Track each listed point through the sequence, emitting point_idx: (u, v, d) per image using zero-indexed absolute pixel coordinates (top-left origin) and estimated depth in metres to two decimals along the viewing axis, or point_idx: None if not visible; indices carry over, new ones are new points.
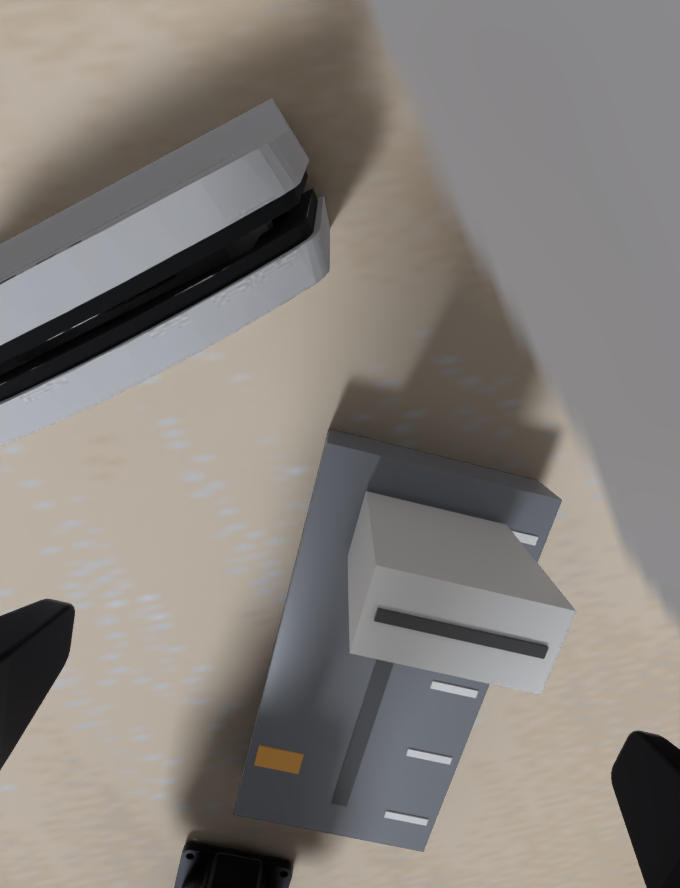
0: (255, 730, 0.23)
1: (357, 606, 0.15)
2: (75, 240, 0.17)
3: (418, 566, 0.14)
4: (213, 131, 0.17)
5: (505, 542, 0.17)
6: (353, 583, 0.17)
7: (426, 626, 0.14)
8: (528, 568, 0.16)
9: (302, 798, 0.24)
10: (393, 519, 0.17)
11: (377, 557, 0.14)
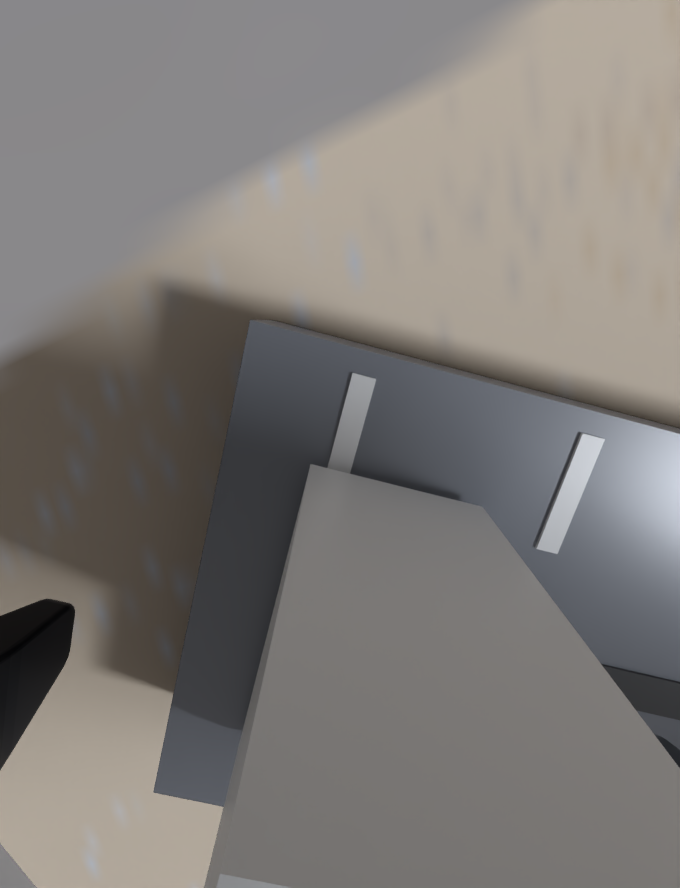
0: None
1: None
2: None
3: None
4: None
5: None
6: None
7: None
8: (267, 645, 0.04)
9: None
10: None
11: None
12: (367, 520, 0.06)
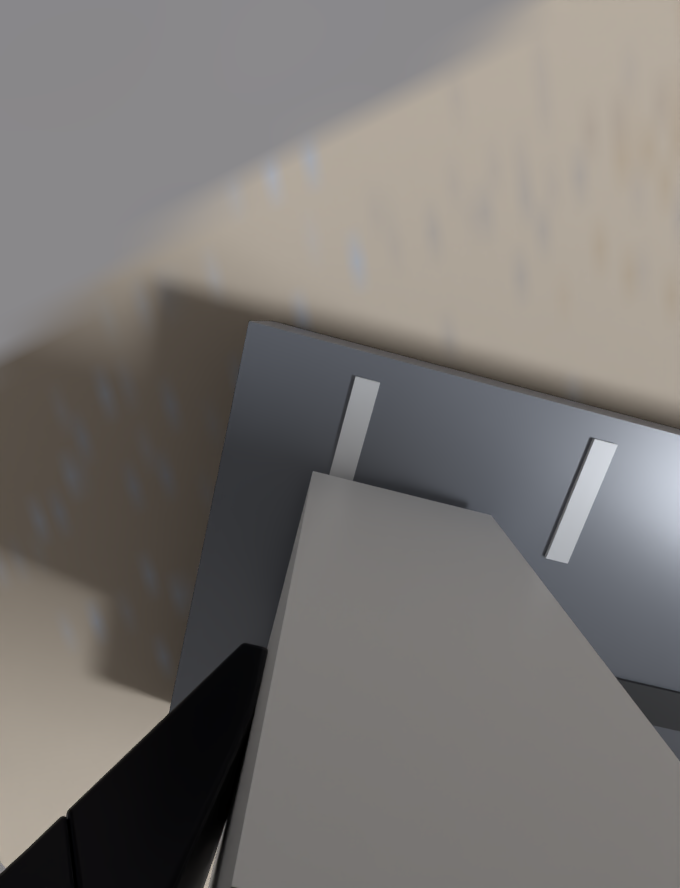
0: None
1: None
2: None
3: None
4: None
5: (287, 581, 0.06)
6: None
7: None
8: (270, 671, 0.04)
9: None
10: (214, 865, 0.07)
11: None
12: (373, 532, 0.06)
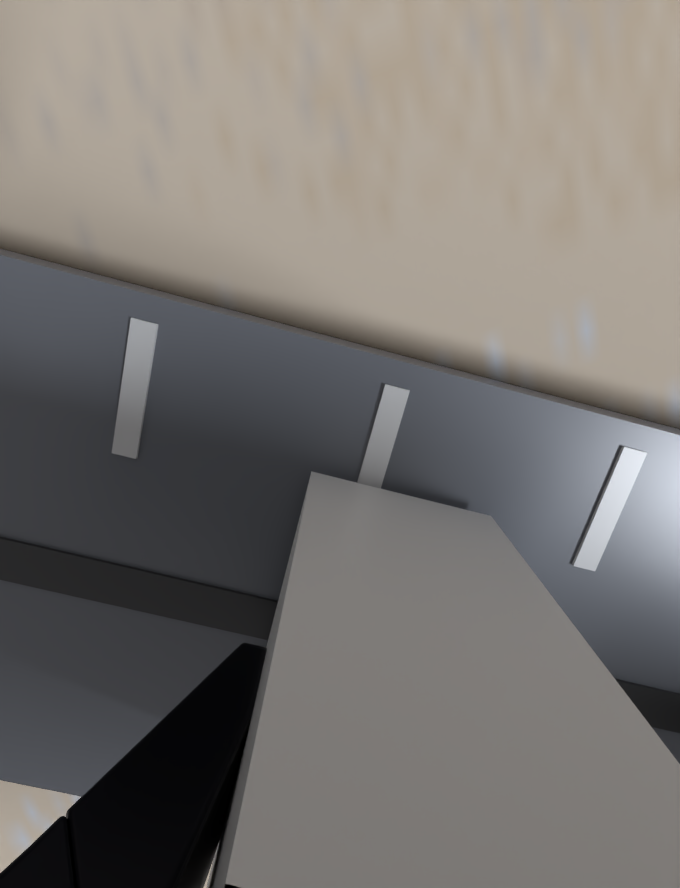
0: None
1: None
2: None
3: None
4: None
5: (285, 582, 0.06)
6: None
7: None
8: (265, 675, 0.04)
9: None
10: (211, 869, 0.06)
11: None
12: (370, 533, 0.06)
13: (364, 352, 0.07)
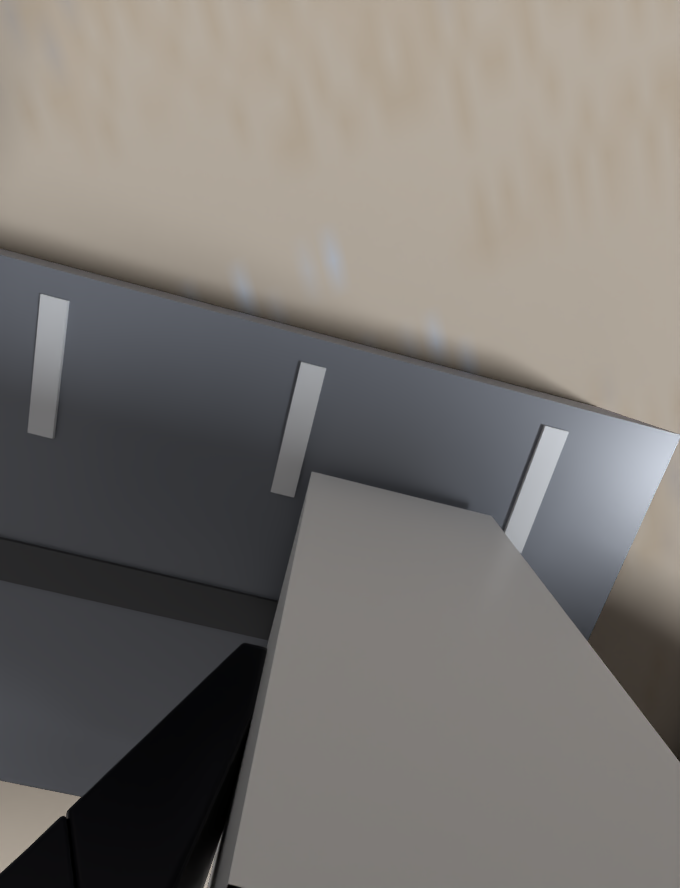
0: None
1: None
2: None
3: None
4: None
5: (286, 583, 0.06)
6: None
7: None
8: (267, 675, 0.04)
9: None
10: (212, 869, 0.06)
11: None
12: (371, 534, 0.06)
13: (15, 259, 0.07)
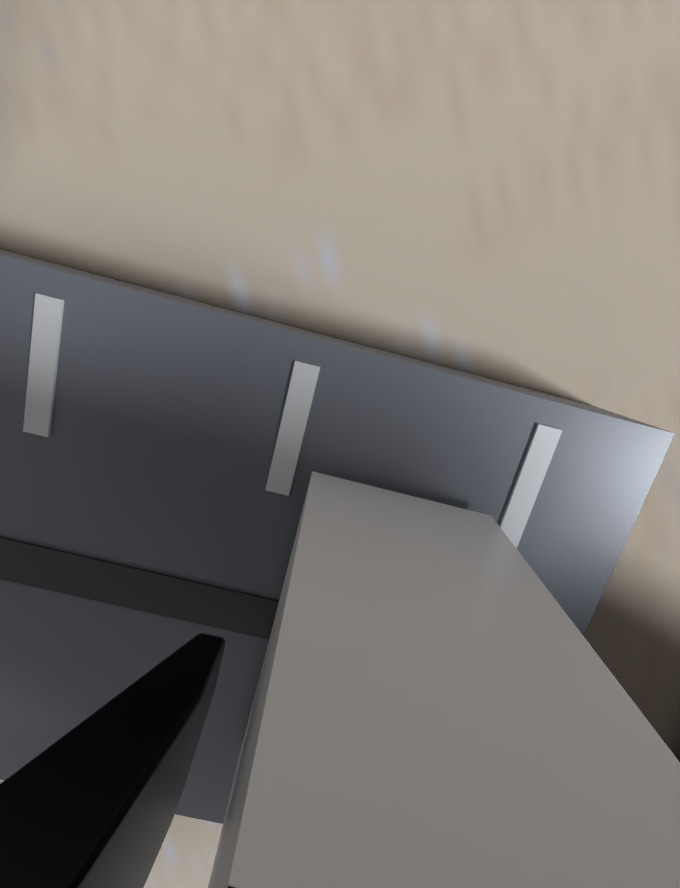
0: None
1: None
2: None
3: None
4: None
5: (286, 581, 0.06)
6: None
7: None
8: (268, 674, 0.04)
9: None
10: (213, 867, 0.06)
11: None
12: (372, 533, 0.06)
13: (10, 259, 0.07)
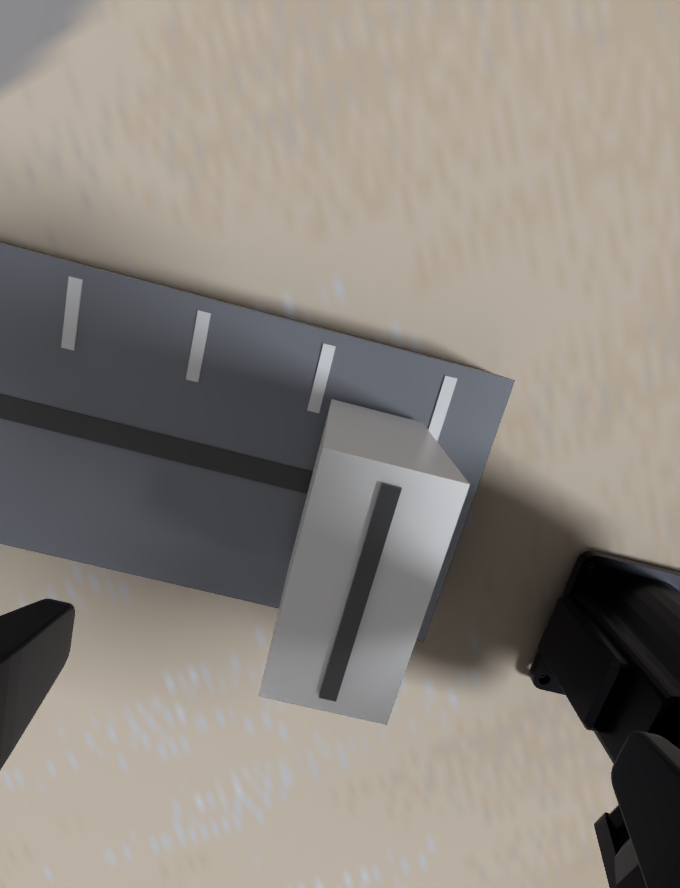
0: None
1: None
2: None
3: (274, 633, 0.11)
4: None
5: (322, 437, 0.13)
6: None
7: (343, 643, 0.10)
8: (321, 446, 0.11)
9: None
10: (286, 577, 0.14)
11: None
12: (359, 416, 0.13)
13: (186, 294, 0.15)
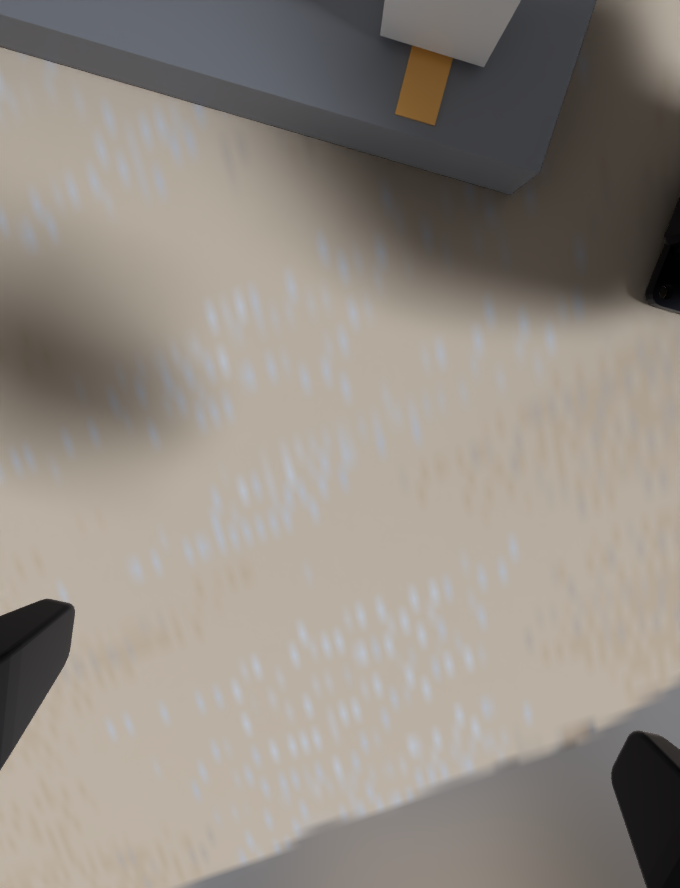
0: (365, 119, 0.14)
1: None
2: None
3: None
4: None
5: None
6: None
7: None
8: None
9: (515, 32, 0.13)
10: None
11: None
12: None
13: None
